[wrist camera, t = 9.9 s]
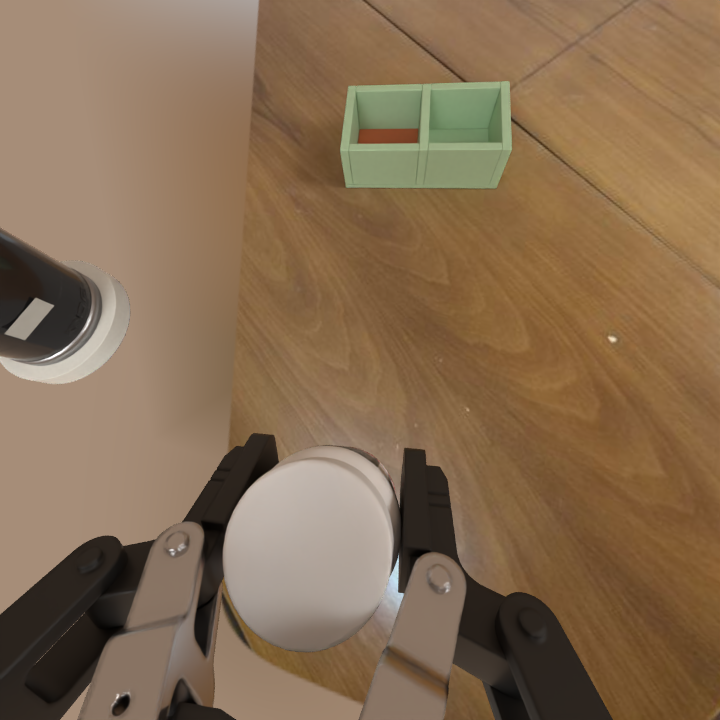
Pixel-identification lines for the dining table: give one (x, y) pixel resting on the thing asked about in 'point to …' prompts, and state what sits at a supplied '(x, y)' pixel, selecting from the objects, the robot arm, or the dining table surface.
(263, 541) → the pill bottle
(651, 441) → the dining table surface
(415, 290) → the dining table surface
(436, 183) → the holder
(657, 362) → the dining table surface
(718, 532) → the dining table surface
